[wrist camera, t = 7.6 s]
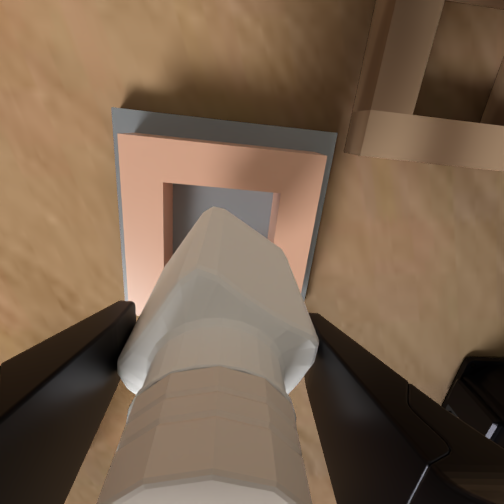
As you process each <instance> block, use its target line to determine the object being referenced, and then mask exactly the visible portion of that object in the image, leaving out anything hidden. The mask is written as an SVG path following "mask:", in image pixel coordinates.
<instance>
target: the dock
mask: <svg viewBox="0 0 504 504" xmlns="http://www.w3.org/2000/svg"><path fill="white" fill-rule="evenodd" d="M111 109H112V123H113V137H114V151H115V165H116V180H117V194H118V208H119V222H120V236H121V251H122V265H123V279H124V293H125V301H133V302H134V303H135V307H136V315H140V314H141V312H142V310H143V308H144V306H145V304H146V302H147V301H148V299H149V297H150V295H151V293H152V291H153V289H154V287H155V285H156V283H157V281H158V279H159V277H160V275H161V273H162V271H163V269H164V267H165V265H166V264H167V263H168V261H169V260H170V258H171V257H172V256H173V254H174V253H175V251H176V250H177V248H178V247H179V246H180V244H181V243H182V241H183V240H184V239H185V237H186V236H187V234H188V233H189V232H190V230H191V229H192V227H193V226H194V224H195V223H196V222H197V220H198V219H199V217H200V216H201V215H202V213H203V212H205V211H206V210H208V209H210V208H211V207H213V206H214V207H218V208H223V209H226V210H227V211H229V212H230V213H231V214H233V215H234V216H236V217H237V218H238V219H240V220H241V221H243V222H244V223H246V224H247V225H248V226H250V227H251V228H253V229H254V230H255V231H257V232H258V233H260V234H261V235H263V236H264V237H265V238H267V239H268V240H270V241H271V242H272V243H274V244H275V245H277V246H278V247H280V248H281V249H282V250H283V252H284V254H285V256H286V257H287V259H288V262H289V265H290V267H291V270H292V272H293V275H294V277H295V280H296V282H297V285H298V288H299V290H300V293H301V295H302V298H303V300H305V295H306V290H307V285H308V280H309V275H310V270H311V265H312V260H313V255H314V250H315V245H316V240H317V235H318V230H319V224H320V219H321V214H322V209H323V204H324V199H325V194H326V189H327V184H328V179H329V174H330V169H331V164H332V159H333V154H334V149H335V144H336V139H337V134H338V133H333V132H325V131H316V130H307V129H298V128H290V127H281V126H272V125H263V124H254V123H246V122H237V121H228V120H219V119H210V118H202V117H193V116H184V115H175V114H166V113H158V112H149V111H140V110H131V109H122V108H114V107H111Z"/></svg>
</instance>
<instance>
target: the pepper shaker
mask: <svg viewBox="0 0 504 504" xmlns="http://www.w3.org/2000/svg"><path fill="white" fill-rule="evenodd" d="M318 346H319V339H318V336H317V334H316V331H315V329H314V326H313V323H312V321H311V318H310V316H309V313H308V311H307V308H306V305H305V303H304V300H303V298H302V295H301V293H300V290H299V288H298V285H297V282H296V280H295V277H294V275H293V272H292V270H291V267H290V265H289V262H288V259H287V257H286V256H285V254H284V252H283V250H282V249H281V248H280V247H278V246H277V245H275V244H274V243H272V242H271V241H270V240H268V239H267V238H265V237H264V236H263V235H261V234H260V233H258V232H257V231H255V230H254V229H253V228H251V227H250V226H248V225H247V224H246V223H244V222H243V221H241V220H240V219H238V218H237V217H236V216H234V215H233V214H231V213H230V212H229V211H227V210H226V209H223V208H218V207H214V206H213V207H211V208H210V209H208V210H206V211H205V212H203V213H202V215H201V216H200V217H199V219H198V220H197V222H196V223H195V224H194V226H193V227H192V229H191V230H190V232H189V233H188V234H187V236H186V237H185V239H184V240H183V241H182V243H181V244H180V246H179V247H178V248H177V250H176V251H175V253H174V254H173V256H172V257H171V258H170V260H169V261H168V263H167V264H166V265H165V267H164V269H163V271H162V273H161V275H160V277H159V279H158V281H157V283H156V285H155V287H154V289H153V291H152V293H151V295H150V297H149V299H148V301H147V302H146V304H145V306H144V308H143V310H142V312H141V314H140V316H139V318H138V320H137V322H136V324H135V326H134V328H133V330H132V332H131V334H130V336H129V338H128V340H127V342H126V344H125V346H124V348H123V350H122V352H121V354H120V356H119V358H118V361H117V371H118V375H119V376H120V378H121V379H122V381H123V383H124V384H125V386H126V387H127V389H129V390H130V391H131V392H133V393H134V394H136V396H135V398H134V399H133V401H132V403H131V405H130V407H129V409H128V415H127V422H126V425H125V428H124V431H123V433H122V436H121V439H120V442H119V444H118V447H117V450H116V453H115V455H114V458H113V461H112V463H111V466H110V469H109V471H108V474H107V477H106V479H105V482H104V485H103V488H102V490H101V493H100V496H99V498H98V501H97V504H312V500H311V496H310V491H309V486H308V481H307V476H306V471H305V466H304V461H303V458H302V453H301V447H300V442H299V437H298V432H297V429H296V414H295V411H294V407H293V404H292V401H291V398H290V397H289V395H288V394H289V393H290V392H291V391H292V390H293V389H294V387H295V386H296V385H297V384H298V383H299V382H300V380H301V379H302V378H303V376H304V375H305V374H306V372H307V371H308V370H309V368H310V367H311V366H312V364H313V363H314V361H315V357H316V354H317V350H318Z"/></svg>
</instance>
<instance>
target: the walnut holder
mask: <svg viewBox="0 0 504 504" xmlns="http://www.w3.org/2000/svg"><path fill="white" fill-rule="evenodd" d="M447 1H453V2H460V3H466V4H472V5H478V6H485V7H491V8H497V9H503V10H504V0H447ZM444 2H445V0H376V2H375V7H374V12H373V17H372V21H371V26H370V31H369V36H368V40H367V45H366V50H365V55H364V59H363V64H362V69H361V73H360V78H359V83H358V88H357V92H356V97H355V102H354V107H353V111H352V116H351V121H350V126H349V130H348V135H347V140H346V145H345V149H344V152H345V153H349V154H354V155H358V156H365V157H374V158H383V159H393V160H402V161H411V162H421V163H430V164H439V165H449V166H458V167H467V168H477V169H486V170H495V171H504V58H503V61H502V63H501V66H500V69H499V72H498V74H497V77H496V80H495V83H494V85H493V88H492V91H491V94H490V96H489V99H488V102H487V104H486V107H485V110H484V113H483V115H482V118H481V121H480V123H475V122H467V121H459V120H450V119H442V118H434V117H426V116H418V115H413V112H414V108H415V105H416V101H417V98H418V94H419V91H420V87H421V83H422V80H423V76H424V73H425V69H426V66H427V62H428V59H429V55H430V52H431V48H432V45H433V41H434V37H435V34H436V30H437V27H438V23H439V20H440V16H441V13H442V9H443V6H444Z"/></svg>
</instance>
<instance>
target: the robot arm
mask: <svg viewBox="0 0 504 504" xmlns="http://www.w3.org/2000/svg"><path fill="white" fill-rule="evenodd" d="M309 316H310V318H311V321H312V323H313V326H314V329H315V331H316V334H317V336H318V339H319V346H318V350H317V354H316V357H315V361H314V363H313V364H312V366H311V367H310V368H309V370H308V371H307V372H306V374H305V375H304V377H305V383H306V389H307V393H308V397H309V401H310V404H311V408H312V412H313V416H314V420H315V423H316V427H317V431H318V435H319V438H320V442H321V446H322V450H323V453H324V457H325V461H326V465H327V468H328V472H329V476H330V480H331V484H332V487H333V491H334V495H335V499H336V502H337V504H504V358H486V357H468V358H466V359H465V360H464V362H463V364H462V366H461V368H460V370H459V372H458V374H457V376H456V378H455V380H454V382H453V384H452V386H451V388H450V391H449V393H448V395H447V397H446V399H445V401H444V403H443V405H442V406H440V405H439V404H438V403H436V402H435V401H433V400H432V399H431V398H429V397H428V396H427V395H425V394H424V393H423V392H421V391H420V390H419V389H417V388H416V387H415V386H413V385H412V384H408V381H407V380H405V379H404V378H403V377H401V376H400V375H399V374H397V373H396V372H395V371H393V370H392V369H391V368H390V367H388V366H387V365H386V364H384V363H383V362H382V361H380V360H379V359H378V358H376V357H375V356H374V355H372V354H371V353H370V352H368V351H367V350H366V349H364V348H363V347H362V346H361V345H359V344H358V343H357V342H355V341H354V340H353V339H351V338H350V337H349V336H347V335H346V334H345V333H343V332H342V331H341V330H339V329H338V328H337V327H335V326H334V325H333V324H331V323H330V322H329V321H328V320H326V319H325V318H324V317H322V316H321V315H320V314H318V313H309ZM135 324H136V307H135V303H134V302H133V301H118V302H116V303H114V304H112V305H110V306H109V307H107V308H105V309H103V310H101V311H99V312H97V313H95V314H93V315H92V316H90V317H88V318H86V319H84V320H82V321H80V322H78V323H77V324H75V325H73V326H71V327H69V328H67V329H65V330H63V331H61V332H60V333H58V334H56V335H54V336H52V337H50V338H48V339H46V340H45V341H43V342H41V343H39V344H37V345H35V346H33V347H31V348H29V349H28V350H26V351H24V352H22V353H20V354H18V355H16V356H14V357H12V358H11V359H9V360H7V361H5V362H3V363H2V364H1V366H0V504H64V503H65V500H66V498H67V496H68V494H69V492H70V489H71V487H72V485H73V483H74V481H75V478H76V476H77V474H78V472H79V470H80V467H81V465H82V463H83V461H84V459H85V456H86V454H87V452H88V450H89V448H90V445H91V443H92V441H93V439H94V437H95V434H96V432H97V430H98V428H99V426H100V423H101V421H102V419H103V417H104V415H105V412H106V410H107V408H108V406H109V404H110V401H111V399H112V397H113V395H114V393H115V390H116V388H117V386H118V383H119V381H120V376H119V375H118V371H117V361H118V358H119V356H120V354H121V352H122V350H123V348H124V346H125V344H126V342H127V340H128V338H129V336H130V334H131V332H132V330H133V328H134V326H135Z"/></svg>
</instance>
